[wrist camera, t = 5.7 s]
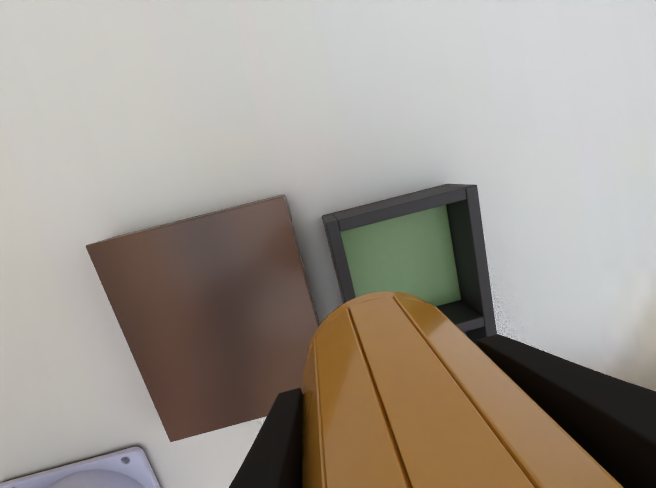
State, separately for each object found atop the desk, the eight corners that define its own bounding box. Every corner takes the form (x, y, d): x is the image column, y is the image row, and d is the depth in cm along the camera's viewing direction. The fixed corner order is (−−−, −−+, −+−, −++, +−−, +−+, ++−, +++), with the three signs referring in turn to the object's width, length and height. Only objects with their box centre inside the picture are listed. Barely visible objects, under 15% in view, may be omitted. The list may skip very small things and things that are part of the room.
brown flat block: (183, 416, 20) (170, 442, 18) (109, 238, 17) (84, 245, 15) (334, 375, 20) (338, 397, 18) (284, 194, 17) (282, 195, 15)
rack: (373, 423, 21) (385, 464, 18) (321, 215, 18) (325, 223, 15) (480, 394, 21) (510, 429, 18) (447, 183, 18) (477, 184, 15)
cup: (326, 446, 10) (363, 888, 4) (286, 314, 9) (247, 624, 3) (467, 407, 10) (730, 774, 4) (444, 272, 9) (755, 478, 3)
